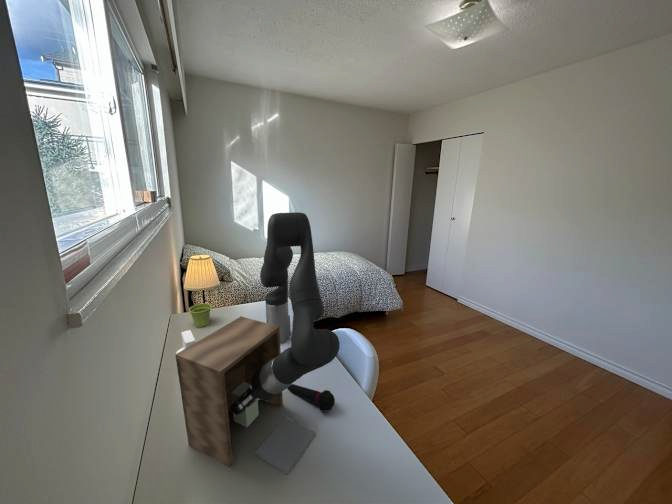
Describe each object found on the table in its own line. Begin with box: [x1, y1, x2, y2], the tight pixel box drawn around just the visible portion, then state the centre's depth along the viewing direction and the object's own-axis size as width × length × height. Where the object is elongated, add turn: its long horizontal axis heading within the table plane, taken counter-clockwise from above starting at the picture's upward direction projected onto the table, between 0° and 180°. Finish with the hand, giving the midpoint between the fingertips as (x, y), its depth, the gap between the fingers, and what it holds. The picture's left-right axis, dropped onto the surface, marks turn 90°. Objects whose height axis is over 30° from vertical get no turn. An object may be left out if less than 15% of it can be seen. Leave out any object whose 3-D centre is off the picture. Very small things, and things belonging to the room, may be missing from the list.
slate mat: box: [254, 417, 317, 476], centre depth 69 cm, size 12×10×1 cm
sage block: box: [231, 382, 259, 428], centre depth 73 cm, size 4×4×9 cm
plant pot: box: [188, 303, 212, 328], centre depth 127 cm, size 9×9×9 cm
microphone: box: [287, 383, 336, 412], centre depth 84 cm, size 6×6×20 cm
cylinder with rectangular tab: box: [175, 329, 196, 354], centre depth 98 cm, size 9×9×12 cm
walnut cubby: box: [175, 316, 284, 468], centre depth 72 cm, size 14×21×26 cm, turn 156°
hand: (239, 402), depth 73 cm, fingers closed on sage block, 4 cm apart
